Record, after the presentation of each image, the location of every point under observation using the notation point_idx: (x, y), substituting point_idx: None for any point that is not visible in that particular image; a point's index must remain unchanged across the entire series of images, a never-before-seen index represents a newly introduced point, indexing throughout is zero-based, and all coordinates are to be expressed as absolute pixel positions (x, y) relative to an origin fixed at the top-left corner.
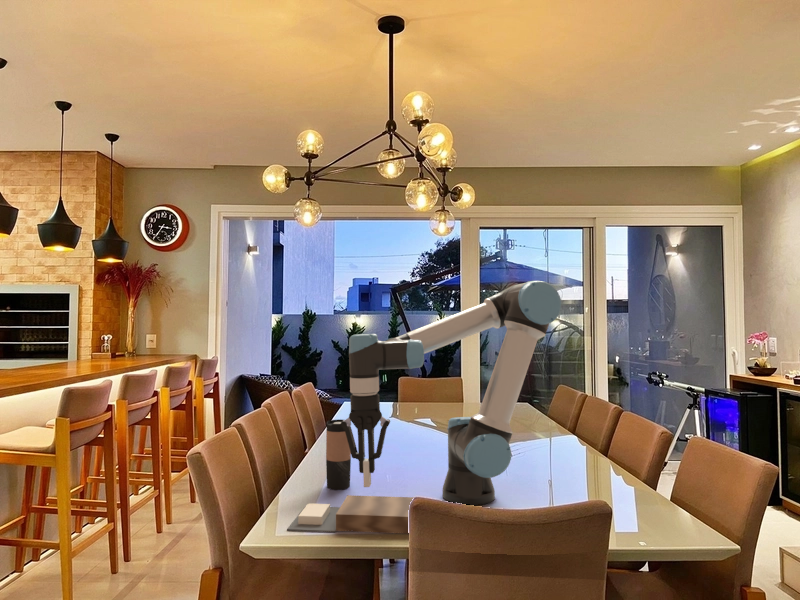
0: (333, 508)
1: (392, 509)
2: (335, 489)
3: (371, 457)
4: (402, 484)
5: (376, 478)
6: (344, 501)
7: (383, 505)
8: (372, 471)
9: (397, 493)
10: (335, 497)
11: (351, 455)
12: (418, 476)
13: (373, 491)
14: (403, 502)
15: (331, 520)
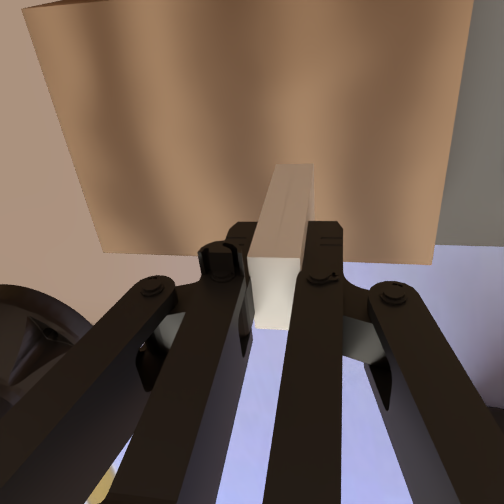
0: (492, 230)
1: (169, 100)
2: (494, 408)
3: (214, 280)
4: (257, 432)
5: (351, 476)
6: (440, 185)
7: (227, 149)
8: (240, 227)
9: (256, 373)
10: (489, 347)
11: (422, 302)
12: (225, 476)
13: (343, 390)
14: (150, 194)
15: (495, 85)
